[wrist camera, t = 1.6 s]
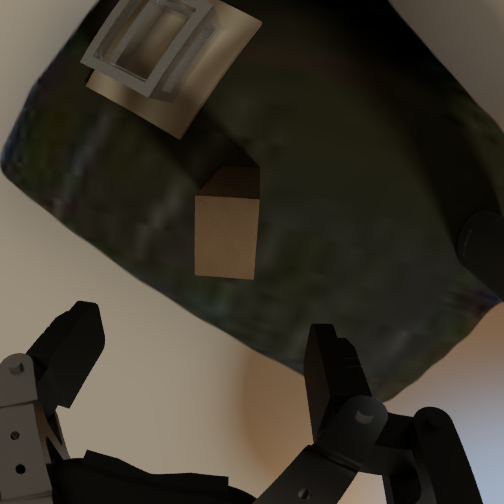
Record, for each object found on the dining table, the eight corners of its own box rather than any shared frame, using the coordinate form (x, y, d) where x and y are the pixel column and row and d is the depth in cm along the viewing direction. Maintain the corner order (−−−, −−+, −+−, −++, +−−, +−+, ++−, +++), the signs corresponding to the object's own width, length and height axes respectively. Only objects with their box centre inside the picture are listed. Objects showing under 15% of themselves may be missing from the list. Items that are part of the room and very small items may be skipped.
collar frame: (223, 30, 28) (213, 4, 20) (172, 103, 31) (147, 97, 23) (162, 2, 26) (139, -25, 19) (115, 72, 29) (80, 62, 22)
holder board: (261, 24, 28) (261, 22, 27) (181, 139, 33) (179, 139, 32) (162, -21, 25) (159, -24, 25) (89, 86, 31) (85, 86, 30)
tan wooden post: (260, 167, 34) (259, 199, 20) (256, 216, 37) (253, 281, 22) (223, 165, 34) (195, 195, 20) (221, 214, 37) (194, 276, 22)
